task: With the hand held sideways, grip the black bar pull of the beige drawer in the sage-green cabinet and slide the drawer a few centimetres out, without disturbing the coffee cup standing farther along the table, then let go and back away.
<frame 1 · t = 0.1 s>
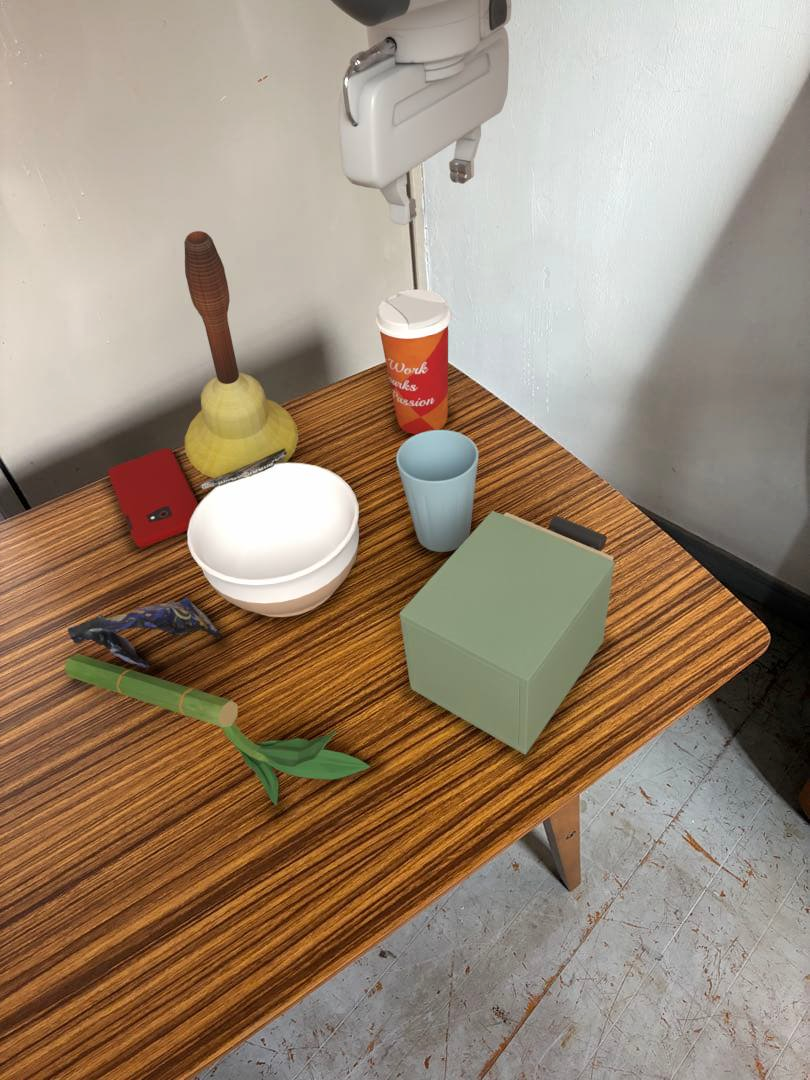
hand: (434, 200, 72), 28 cm above the table, tool pointing down, fingers open, 8 cm apart
cell phone: (152, 489, 88), point 1 cm above the table
cabinet: (508, 664, 69), on the table
decorative plant: (202, 732, 67), on the table
bowl: (289, 576, 79), on the table, touching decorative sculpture
cup: (443, 534, 81), on the table
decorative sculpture: (292, 448, 83), point 6 cm above the table, touching bowl, handbell
beige drawer: (532, 596, 68), point 5 cm above the table, slide at 0.0 cm, touching cabinet
coffee cup: (423, 421, 95), on the table
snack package: (78, 644, 71), point 4 cm above the table
handbell: (241, 439, 87), point 5 cm above the table, touching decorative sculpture
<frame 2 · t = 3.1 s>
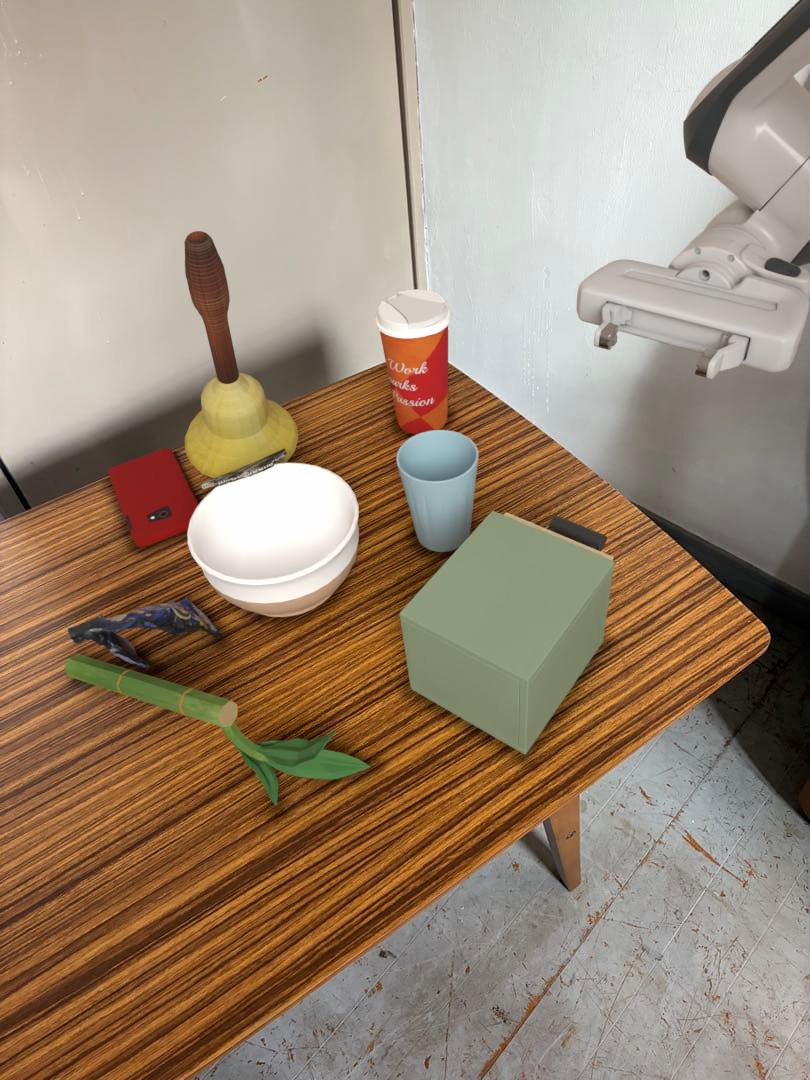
hand: (651, 355, 69), 18 cm above the table, tool horizontal, fingers open, 8 cm apart
nothing on the table moved.
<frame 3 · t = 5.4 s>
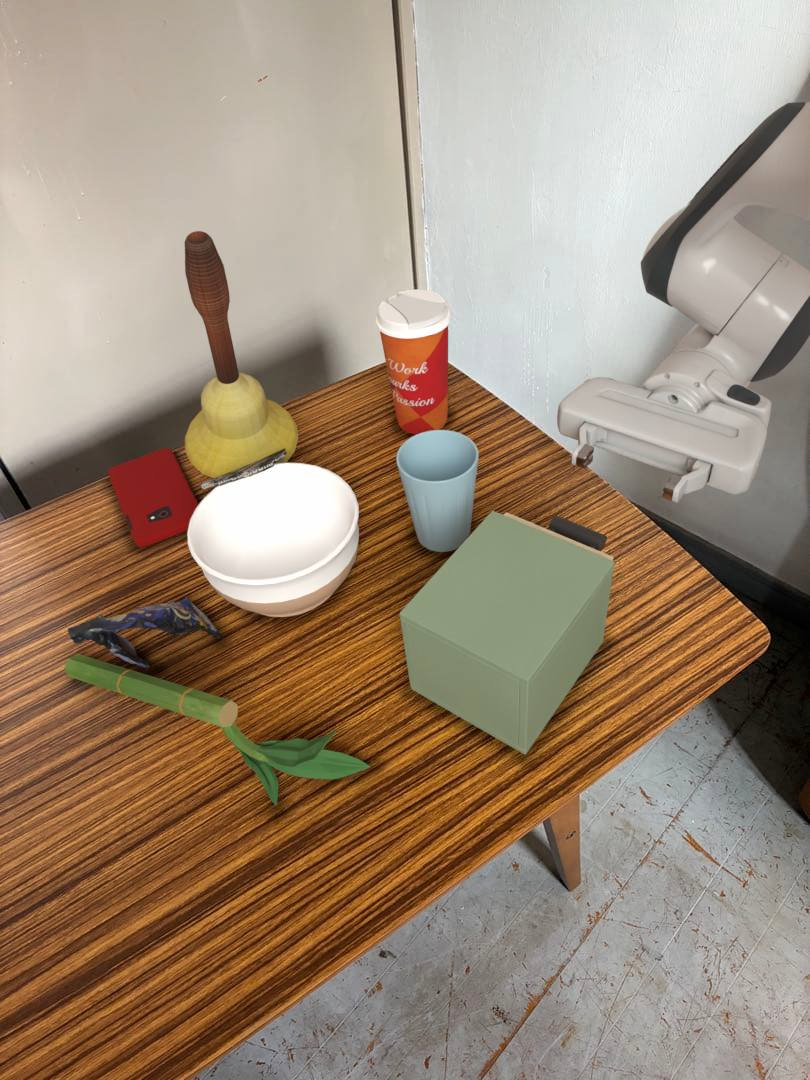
hand: (622, 477, 76), 6 cm above the table, tool horizontal, fingers open, 8 cm apart
nothing on the table moved.
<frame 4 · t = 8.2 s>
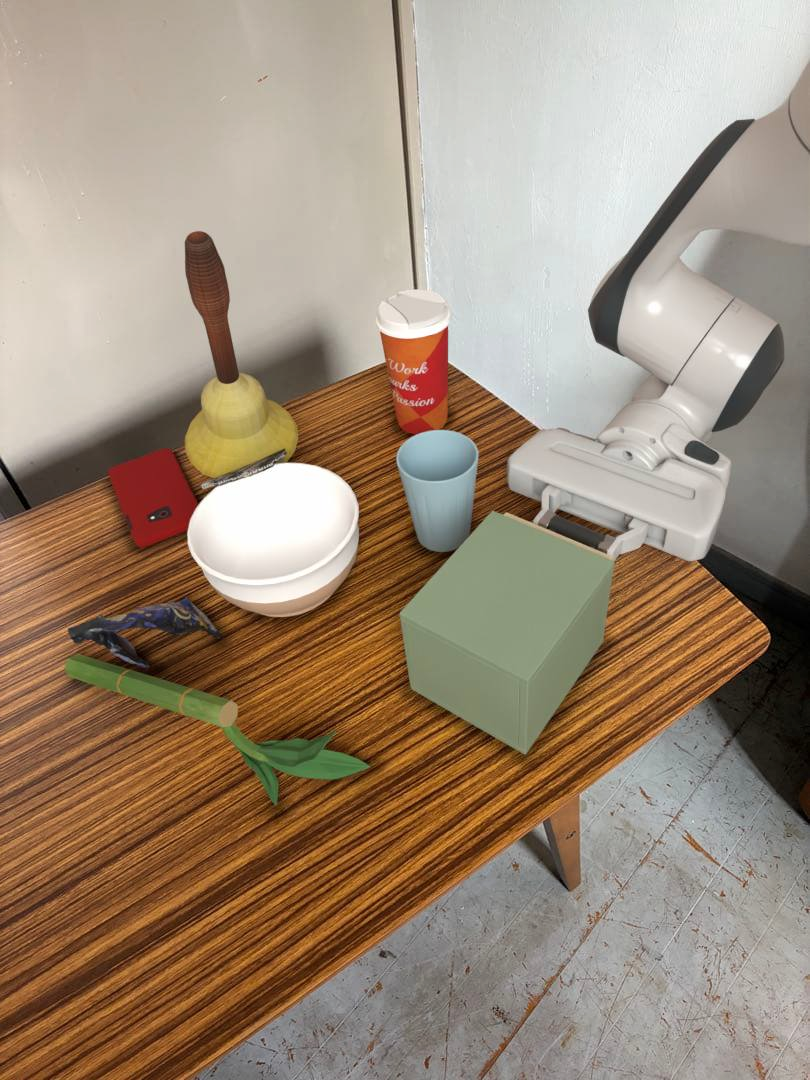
hand: (571, 543, 71), 6 cm above the table, tool horizontal, fingers closed on beige drawer, 5 cm apart
beige drawer: (532, 596, 68), point 5 cm above the table, slide at 0.0 cm, touching gripper
everything else where it was.
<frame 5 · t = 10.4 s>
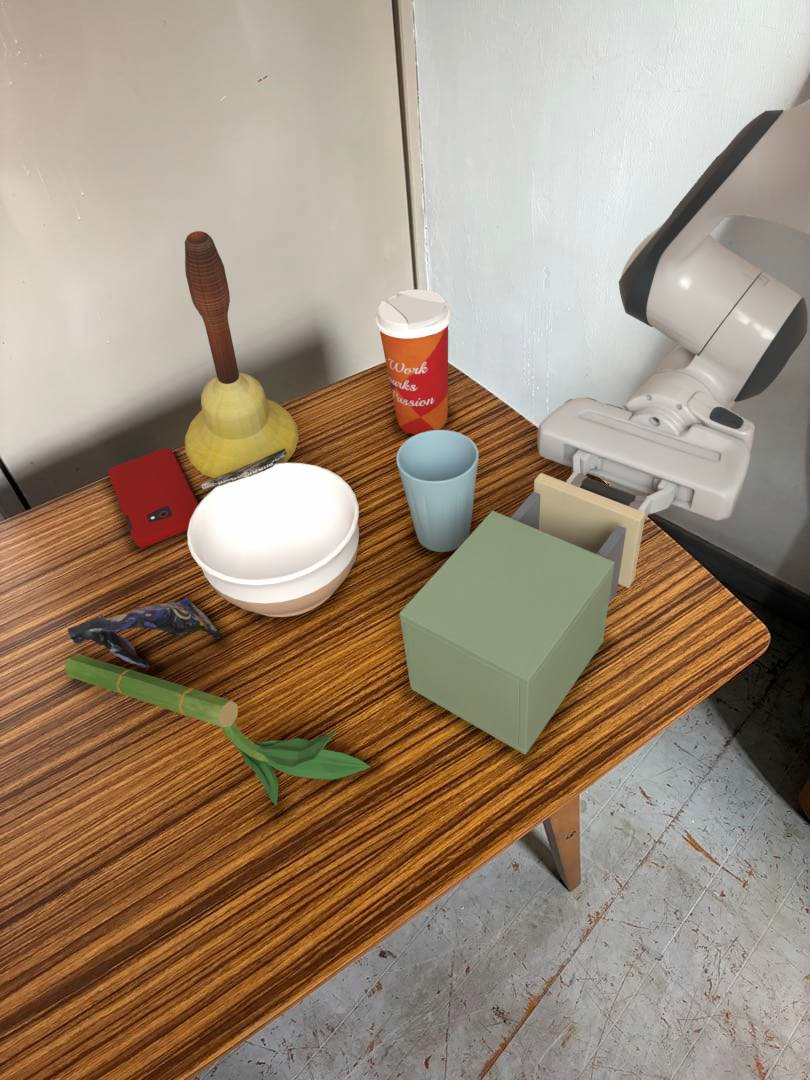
hand: (602, 503, 74), 6 cm above the table, tool horizontal, fingers closed on beige drawer, 5 cm apart
beige drawer: (567, 553, 71), point 5 cm above the table, slide at 6.0 cm, touching gripper
everything else where it was.
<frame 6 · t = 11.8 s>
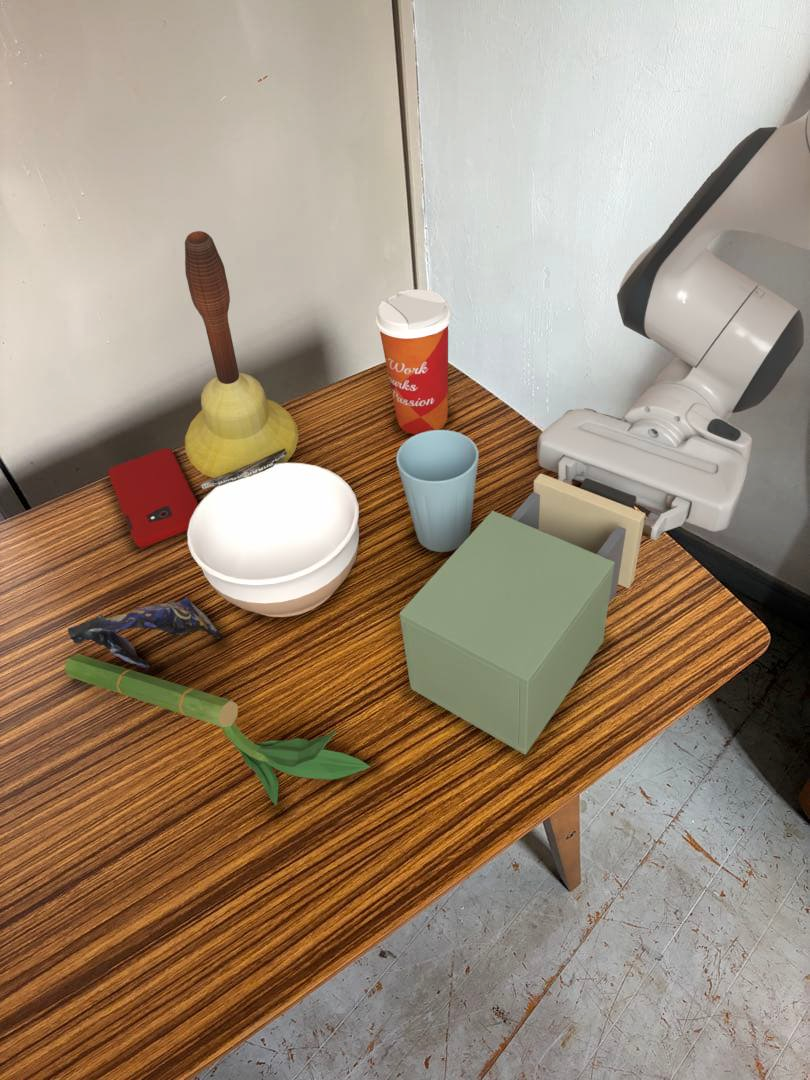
hand: (601, 514, 75), 5 cm above the table, tool horizontal, fingers open, 8 cm apart
beige drawer: (566, 553, 71), point 5 cm above the table, slide at 6.0 cm
everything else where it was.
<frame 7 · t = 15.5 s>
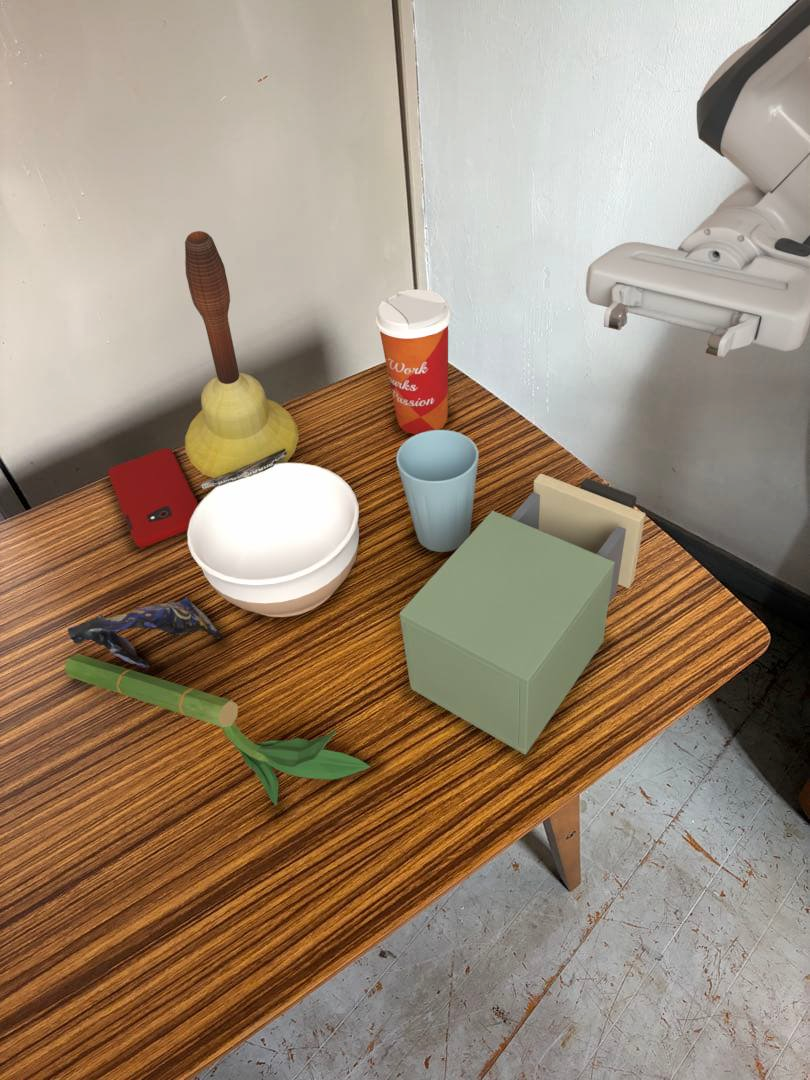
hand: (661, 334, 69), 19 cm above the table, tool horizontal, fingers open, 8 cm apart
nothing on the table moved.
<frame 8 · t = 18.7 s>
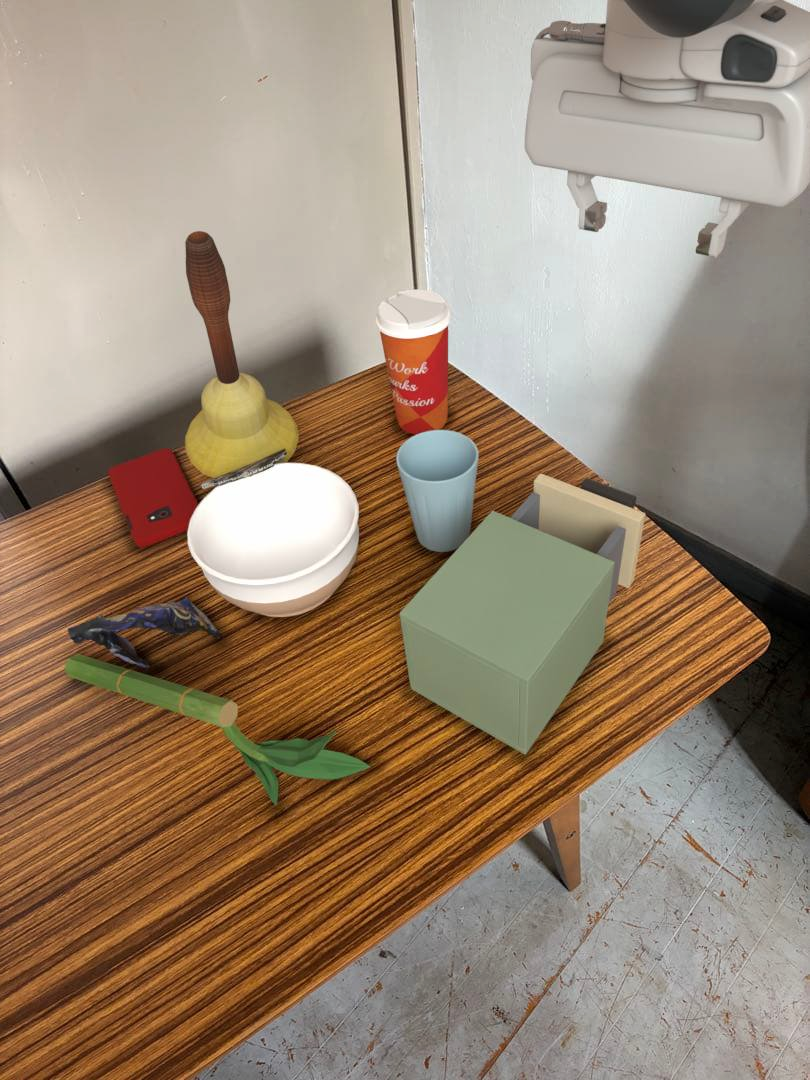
hand: (648, 240, 60), 29 cm above the table, tool pointing down, fingers open, 8 cm apart
nothing on the table moved.
at the end: beige drawer slide at 6.0 cm; coffee cup moved 0.2 cm from its start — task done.
